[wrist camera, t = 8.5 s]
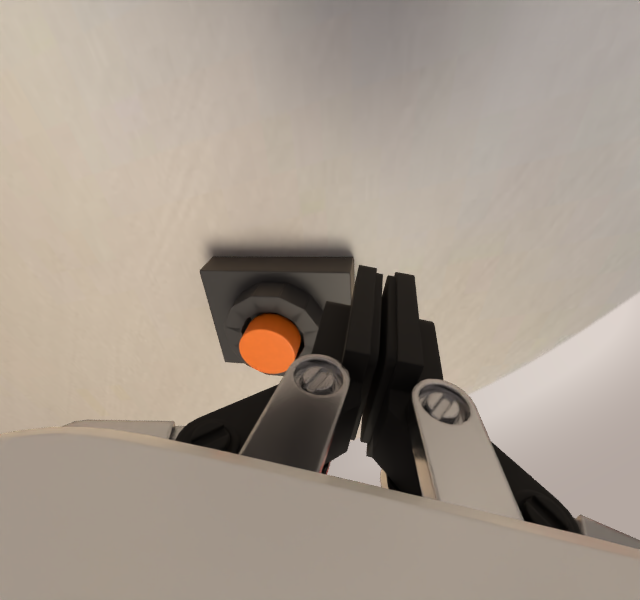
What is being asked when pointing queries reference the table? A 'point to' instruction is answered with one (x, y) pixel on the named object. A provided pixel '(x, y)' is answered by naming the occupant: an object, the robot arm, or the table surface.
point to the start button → (270, 343)
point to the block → (273, 294)
